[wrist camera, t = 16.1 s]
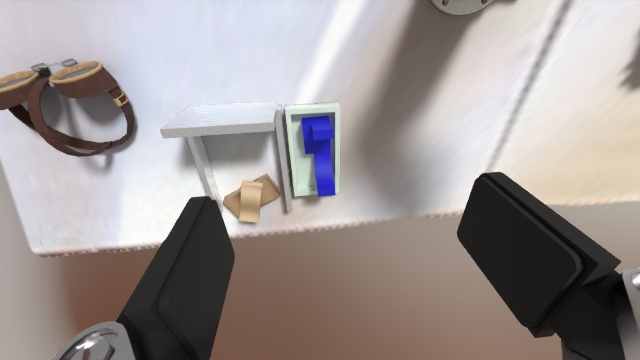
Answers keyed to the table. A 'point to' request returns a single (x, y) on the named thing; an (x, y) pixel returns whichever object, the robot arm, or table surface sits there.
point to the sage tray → (299, 161)
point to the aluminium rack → (228, 121)
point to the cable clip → (320, 151)
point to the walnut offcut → (268, 194)
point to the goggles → (71, 84)
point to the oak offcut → (250, 201)
